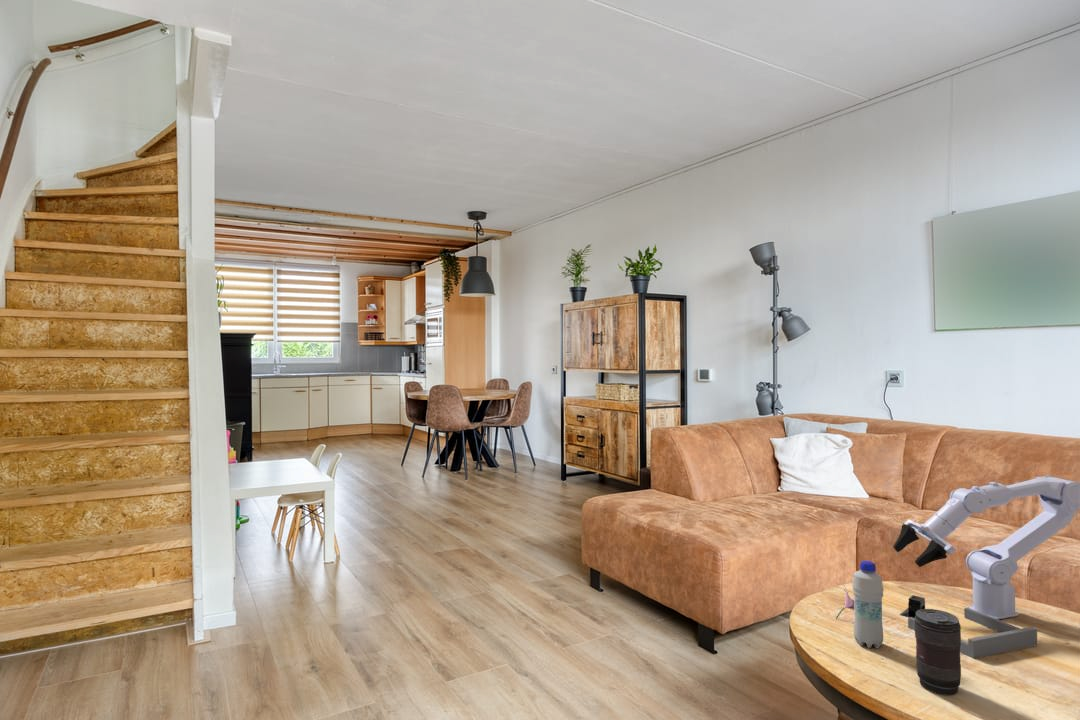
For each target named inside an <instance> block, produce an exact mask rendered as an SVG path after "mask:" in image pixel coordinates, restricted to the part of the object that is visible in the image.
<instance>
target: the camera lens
mask: <svg viewBox="0 0 1080 720" xmlns="http://www.w3.org/2000/svg"><path fill="white" fill-rule="evenodd" d="M961 630H962V629H961V624H960V619H959V618H958V617H957V616H956V615H955V614H953V613H950V612H948V611H944V610H940V609H934V608H925V609H921V610H918V611H916V616H915V631H914V637H915V644H916V645H915V648H916V649H915V650H916V651H915V652H916V654H915V666H916V675H917V676H918V678H919V684H920V685H921V687H922V688H924V689H925V690H927V691H929V692H932V693H934V694H937V695H941V696H955V695H957V694H958V693H959V692H958V691H959V687H960V686H961V679H962V665H961V652H960V646H961V640H962V638H961V637H962V633H961Z"/></svg>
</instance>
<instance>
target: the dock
mask: <svg viewBox="0 0 1080 720" xmlns="http://www.w3.org/2000/svg"><path fill="white" fill-rule="evenodd" d="M963 609H964V611H963V614H964V619H967V620H969V621H972V622H974V623H977V624H979V625H981V626H984V627H987V628H988V629H991V630H993V631H996V632H997V633H992V634H986V635H982V636H976V637H971V638H968V641H966V640H963V639H961V646H960V654H963V655H965V656H968V657H969V658H971V659H978V658H983V657H987V656H993V655H998V654H1002V653H1008V652H1013V651H1016V650H1022V649H1028V648H1031V647H1033V648H1034V647H1036V646H1038V628H1036V627H1033V626H1028V627H1022V628H1020V627H1018V626H1016V625H1013V624H1010V623H1007V622H1005V621H1004V620H1001V619H995V618H993V617H990V616H988V615H985V614H983V613H980V612H978V611H975V610H973V609H970V608H965V607H964V608H963ZM907 627H908V628H909V629H910V630H913V631H914V632H915V618H912V617H909V618H908V617H907Z"/></svg>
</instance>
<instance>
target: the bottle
mask: <svg viewBox="0 0 1080 720" xmlns="http://www.w3.org/2000/svg"><path fill="white" fill-rule="evenodd" d="M851 587H852V593H853V595H854V596H853V598H854V599H853V600H854V610H853V611H854V618H853V637H854V640H855V641H856V642H857V643H858V644H859V645H860V646H862V647H863V646H864V645H865V644H866V646H867V648H869V649H871V648H872V646H873V647H874V648H875V649H877V648H880V647H881V646H882V645H883V642H884V627H883V597H884V590H885V589H884V585H883V579H882V575H880V574H879V573H877V567H876V564H875V563H874V562H873V561H870V560H862V561H861V562H860V563H859V570H856V571H855V572H854V573H853V578H852V585H851Z"/></svg>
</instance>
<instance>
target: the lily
mask: <svg viewBox="0 0 1080 720" xmlns="http://www.w3.org/2000/svg"><path fill="white" fill-rule="evenodd" d="M838 580H839V581H840V583H841V584H842V586H843V587H844V589H843V591H844V593H845V602H844V603H845V604H844V607H843V608H842V609H841V610H840V611H839V612H838V614H837V616H836V617H835V619H836V620H837V619H838V618H839V616H840V615H841V614H842V612H843V611H844V610H845V609H850V610H852V611H854V599H852V598H851V596H850V595H849V592H848V590H847V588H846V586H845V585H844V583H843V582H842V580H841V579H840V578H838Z"/></svg>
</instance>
